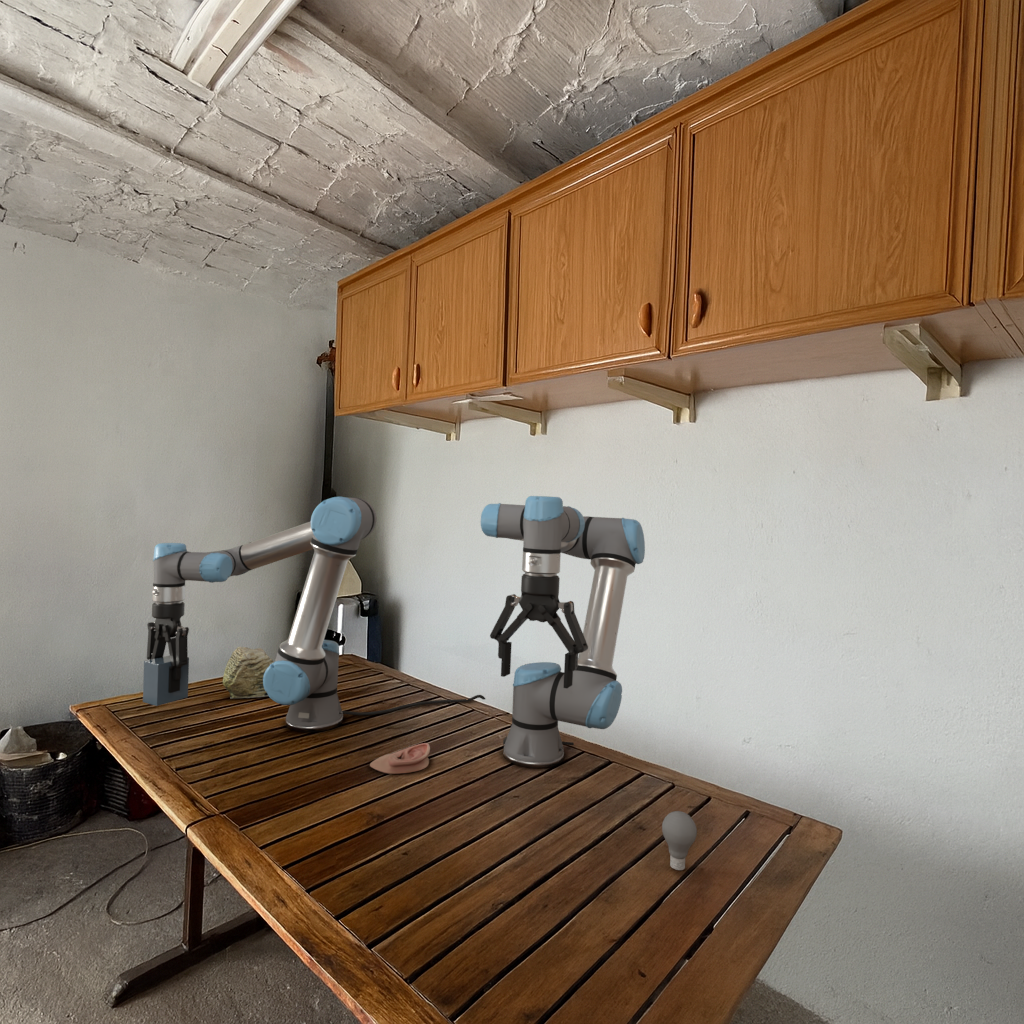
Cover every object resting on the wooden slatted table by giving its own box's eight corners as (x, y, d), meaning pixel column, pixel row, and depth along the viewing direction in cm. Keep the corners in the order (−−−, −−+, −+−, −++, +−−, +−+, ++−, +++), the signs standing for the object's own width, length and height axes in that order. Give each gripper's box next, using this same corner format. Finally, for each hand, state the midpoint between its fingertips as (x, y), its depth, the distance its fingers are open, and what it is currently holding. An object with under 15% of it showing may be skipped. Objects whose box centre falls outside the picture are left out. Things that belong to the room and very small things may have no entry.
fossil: (218, 695, 195) (220, 647, 195) (278, 685, 208) (279, 640, 207) (228, 703, 189) (230, 653, 188) (289, 692, 201) (290, 645, 201)
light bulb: (655, 859, 115) (658, 804, 115) (687, 858, 116) (690, 804, 116) (666, 878, 109) (669, 821, 109) (700, 878, 110) (702, 821, 110)
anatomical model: (364, 753, 147) (384, 735, 158) (364, 770, 147) (383, 751, 158) (419, 760, 144) (435, 742, 155) (418, 778, 144) (434, 758, 156)
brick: (173, 693, 172) (175, 654, 172) (187, 697, 169) (189, 657, 169) (142, 702, 164) (143, 661, 164) (156, 706, 162) (158, 664, 162)
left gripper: (132, 599, 167) (129, 686, 168) (178, 607, 159) (176, 699, 159) (159, 596, 174) (156, 680, 174) (205, 603, 166) (202, 691, 166)
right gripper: (476, 569, 127) (472, 674, 128) (594, 581, 116) (589, 696, 117) (494, 567, 134) (489, 666, 135) (607, 578, 123) (602, 686, 123)
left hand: (166, 689), depth 167 cm, fingers closed on brick, 6 cm apart
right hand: (535, 680), depth 126 cm, fingers open, 13 cm apart
